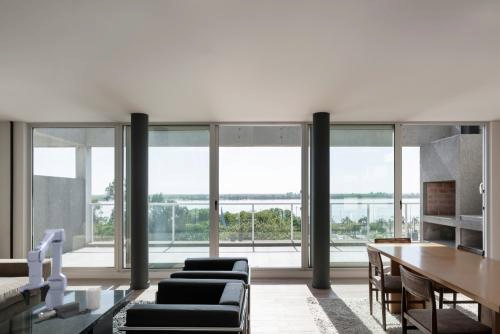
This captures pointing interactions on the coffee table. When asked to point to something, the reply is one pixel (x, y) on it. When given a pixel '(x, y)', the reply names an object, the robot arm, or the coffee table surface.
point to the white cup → (93, 298)
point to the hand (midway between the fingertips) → (35, 303)
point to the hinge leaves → (68, 310)
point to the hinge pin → (46, 314)
